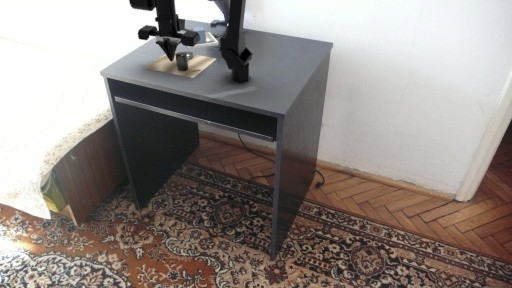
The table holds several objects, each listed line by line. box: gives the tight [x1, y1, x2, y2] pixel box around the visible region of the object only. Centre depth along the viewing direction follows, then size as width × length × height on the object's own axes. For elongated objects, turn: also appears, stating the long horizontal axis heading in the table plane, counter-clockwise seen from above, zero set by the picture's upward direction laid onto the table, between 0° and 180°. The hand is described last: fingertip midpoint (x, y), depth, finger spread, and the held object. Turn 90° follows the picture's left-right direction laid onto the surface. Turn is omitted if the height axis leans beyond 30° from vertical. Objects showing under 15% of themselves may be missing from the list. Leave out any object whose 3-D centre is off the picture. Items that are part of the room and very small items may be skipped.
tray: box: [186, 31, 220, 50], centre depth 136 cm, size 12×12×2 cm
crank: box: [175, 51, 194, 71], centre depth 119 cm, size 14×4×5 cm, turn 1°
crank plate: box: [143, 50, 217, 79], centre depth 121 cm, size 19×16×2 cm
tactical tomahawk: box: [182, 28, 223, 39], centre depth 149 cm, size 21×7×1 cm, turn 62°
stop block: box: [191, 26, 207, 45], centre depth 135 cm, size 4×4×6 cm
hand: (171, 60), depth 116 cm, fingers closed
